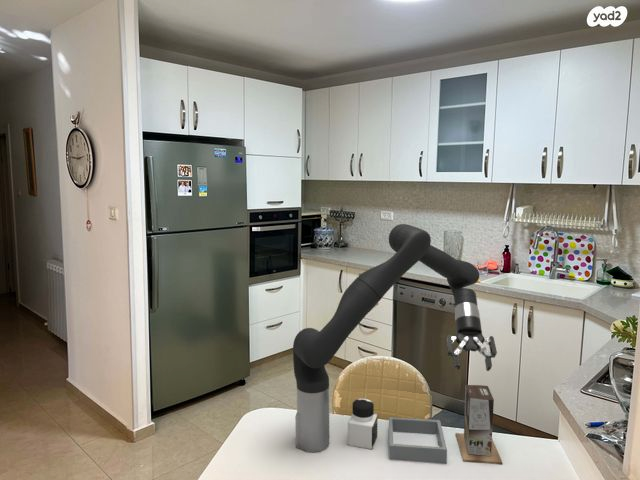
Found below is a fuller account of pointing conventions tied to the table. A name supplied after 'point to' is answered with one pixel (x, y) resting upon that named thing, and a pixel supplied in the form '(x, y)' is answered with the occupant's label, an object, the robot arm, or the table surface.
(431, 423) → the bin
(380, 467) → the table surface
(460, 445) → the pad
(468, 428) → the coffee box
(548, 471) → the table surface
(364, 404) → the medicine bottle
